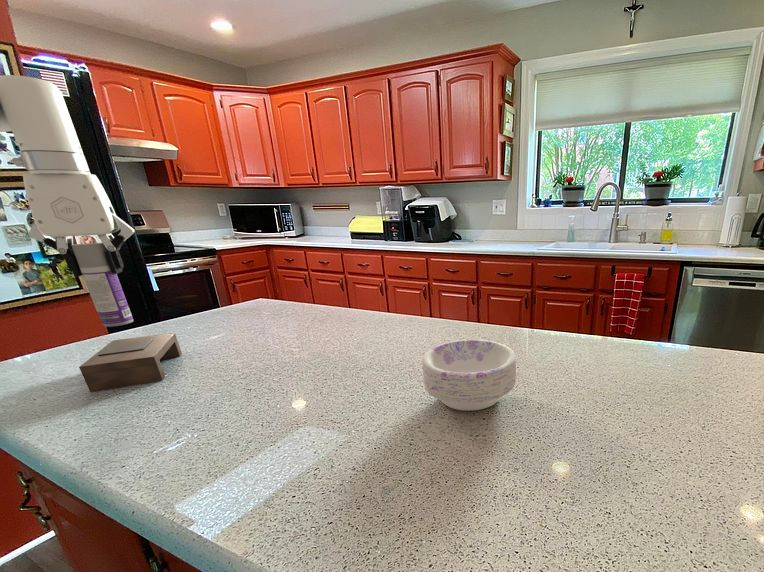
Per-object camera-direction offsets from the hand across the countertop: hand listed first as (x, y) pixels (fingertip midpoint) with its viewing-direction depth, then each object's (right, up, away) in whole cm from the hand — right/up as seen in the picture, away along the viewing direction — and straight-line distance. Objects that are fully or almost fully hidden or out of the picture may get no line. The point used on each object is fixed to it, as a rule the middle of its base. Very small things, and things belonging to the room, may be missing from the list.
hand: (99, 272), depth 74 cm
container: (0, -9, +4) cm, 10 cm away
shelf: (+2, -18, +7) cm, 20 cm away
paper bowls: (+70, -23, -7) cm, 74 cm away
